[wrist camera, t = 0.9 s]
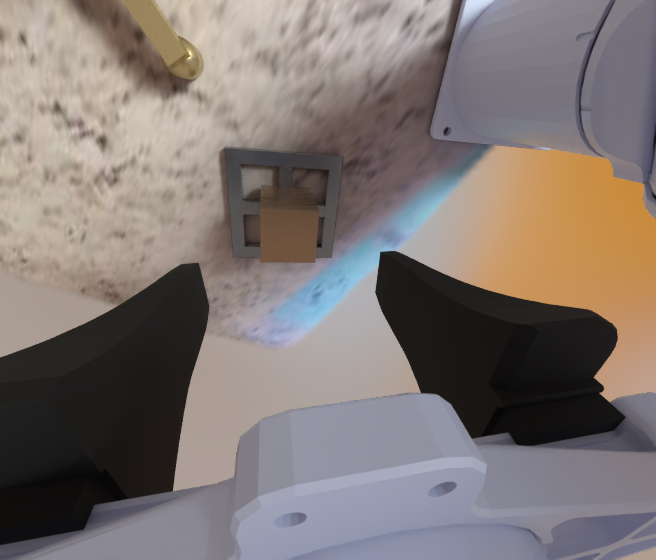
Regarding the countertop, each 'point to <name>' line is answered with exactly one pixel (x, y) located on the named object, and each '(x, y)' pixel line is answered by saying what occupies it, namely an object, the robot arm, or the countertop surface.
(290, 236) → the grey window frame
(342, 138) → the countertop surface
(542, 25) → the robot arm
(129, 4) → the brass bent rod
